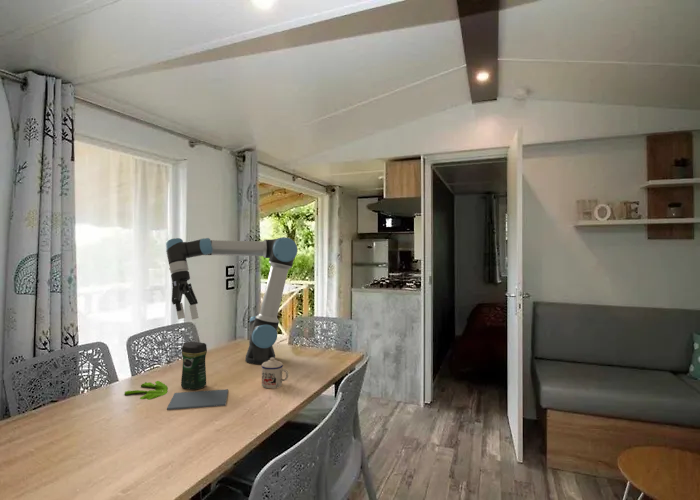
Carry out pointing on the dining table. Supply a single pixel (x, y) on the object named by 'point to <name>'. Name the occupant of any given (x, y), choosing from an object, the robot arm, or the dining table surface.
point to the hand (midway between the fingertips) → (188, 318)
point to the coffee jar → (193, 365)
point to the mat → (198, 399)
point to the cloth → (159, 387)
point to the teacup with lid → (272, 373)
